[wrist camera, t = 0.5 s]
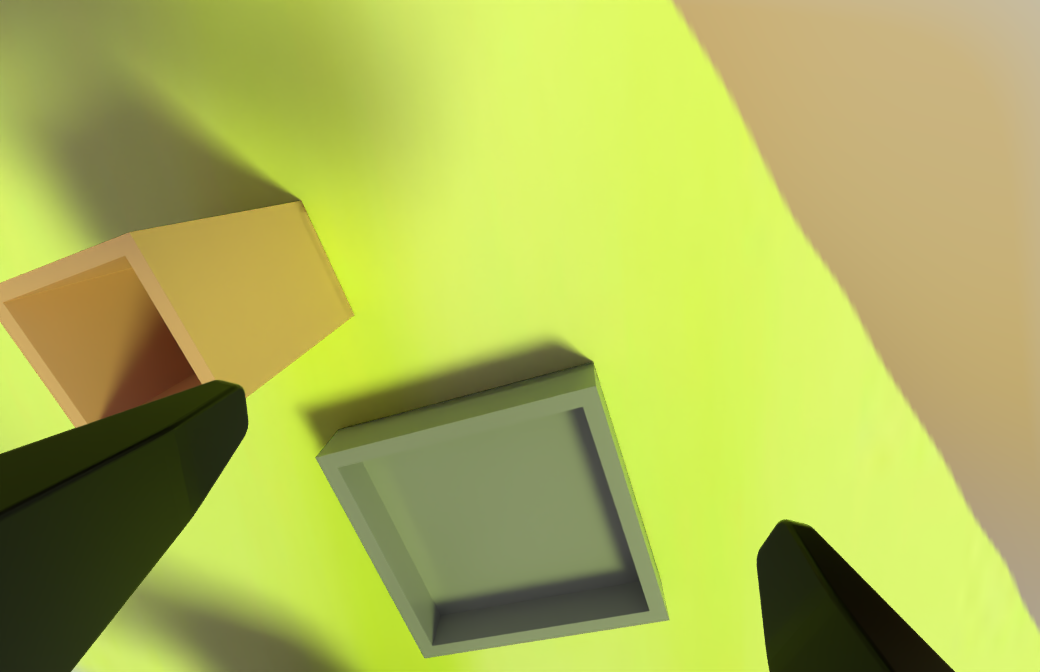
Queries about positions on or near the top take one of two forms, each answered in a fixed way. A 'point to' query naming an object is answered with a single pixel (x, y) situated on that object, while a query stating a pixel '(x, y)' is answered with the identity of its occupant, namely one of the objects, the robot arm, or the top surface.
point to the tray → (500, 515)
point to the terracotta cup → (175, 310)
